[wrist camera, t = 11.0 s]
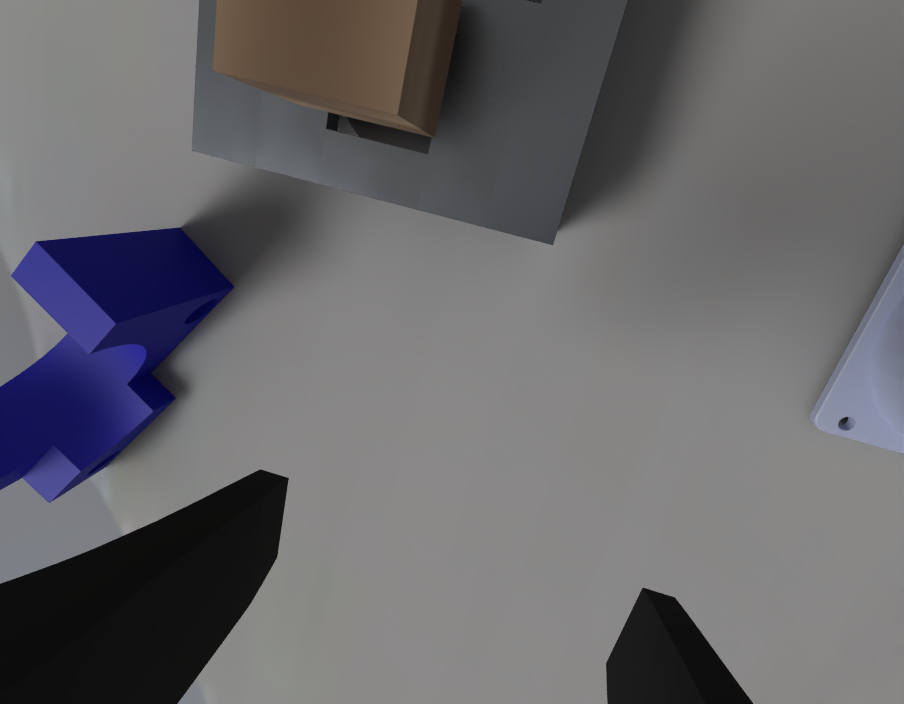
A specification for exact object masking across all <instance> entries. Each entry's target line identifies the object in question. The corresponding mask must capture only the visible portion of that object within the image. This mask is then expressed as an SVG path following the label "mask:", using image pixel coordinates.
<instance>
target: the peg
mask: <svg viewBox="0 0 904 704" xmlns="http://www.w3.org/2000/svg"><path fill="white" fill-rule="evenodd" d="M462 1H463V0H217V8H216V25H215V42H214V59H213V71H215V72H217V73H220V74H223V75H225V76H228V77H230V78H233V79H235V80H238V81H240V82H243V83H245V84H248V85H250V86H253V87H255V88H258V89H260V90H263V91H265V92H268V93H270V94H273V95H275V96H278V97H281V98H283V99H286V100H288V101H291V102H293V103H296V104H298V105H301V106H306V107H310V108H314V109H318V110H322V111H326V112H330V113H334V114H339V115H343V116H346V117H347V119H348V121H349V123H350V124H351V126H352V127H353V129H354V130H355V132H356V133H357V134H358V135H359V136H360V137H361V138H364V139H368V140H372V141H376V142H380V143H384V144H388V145H392V146H396V147H400V148H404V149H408V150H412V151H416V152H420V153H424V154H428V153H429V148H430V143H431V138H432V137H433V138H435V134H436V129H437V124H438V119H439V114H440V109H441V104H442V99H443V94H444V89H445V85H446V80H447V75H448V70H449V65H450V60H451V55H452V50H453V45H454V40H455V35H456V30H457V26H458V21H459V16H460V11H461V6H462Z"/></svg>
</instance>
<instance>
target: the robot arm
mask: <svg viewBox="0 0 904 704" xmlns="http://www.w3.org/2000/svg"><path fill="white" fill-rule="evenodd" d="M844 417H849V418H848V421H847V422H846V423H845V424H843V425H841V426H838V423H839V421H840V420H841V419H842V418H844ZM810 418H811V422H812V423H813V424H814V425H815V426H816V427H817V428H818V429H820V430H822V431H824V432H827V433H831V434H835V435H838V436H842V437H845V438H849V439H853V440H856V441H860V442H863V443H867V444H870V445H874V446H878V447H881V448H885V449H888V450H892V451H896V452H899V453H903V454H904V244H903V246H902V248H901V250H900V252H899V254H898V255H897V257H896V259H895V261H894V263H893V264H892V266H891V268H890V270H889V272H888V274H887V275H886V277H885V279H884V281H883V283H882V284H881V286H880V288H879V290H878V292H877V294H876V295H875V297H874V299H873V301H872V303H871V304H870V306H869V308H868V310H867V312H866V314H865V315H864V317H863V319H862V321H861V323H860V324H859V326H858V328H857V330H856V332H855V334H854V335H853V337H852V339H851V341H850V343H849V344H848V346H847V348H846V350H845V352H844V354H843V355H842V357H841V359H840V361H839V363H838V364H837V366H836V368H835V370H834V372H833V374H832V375H831V377H830V379H829V381H828V383H827V384H826V386H825V388H824V390H823V392H822V394H821V395H820V397H819V399H818V401H817V403H816V404H815V406H814V408H813V410H812V412H811V415H810ZM288 479H289V478H286V477H283V476H280V475H277V474H273V473H270V472H267V471H264V470H258V471H256V472H254V473H252V474H250V475H248V476H246V477H244V478H242V479H240V480H238V481H236V482H234V483H232V484H230V485H228V486H226V487H224V488H222V489H220V490H219V491H217V492H215V493H213V494H211V495H209V496H207V497H205V498H203V499H201V500H199V501H197V502H195V503H193V504H191V505H189V506H187V507H185V508H183V509H180V510H178V511H176V512H174V513H172V514H170V515H168V516H166V517H164V518H162V519H160V520H158V521H156V522H154V523H151V524H149V525H147V526H144V527H142V528H140V529H138V530H135V531H133V532H131V533H129V534H126V535H124V536H122V537H120V538H118V539H115V540H113V541H111V542H108V543H106V544H104V545H102V546H99V547H97V548H95V549H92V550H90V551H87V552H85V553H82V554H80V555H77V556H75V557H72V558H70V559H67V560H65V561H62V562H60V563H57V564H54V565H51V566H49V567H46V568H43V569H41V570H38V571H35V572H32V573H30V574H27V575H24V576H21V577H19V578H16V579H13V580H10V581H7V582H4V583H1V584H0V704H178V702H179V701H180V699H181V698H182V697H183V695H184V694H185V693H186V691H187V690H188V689H189V687H190V686H191V684H192V683H193V682H194V680H195V679H196V678H197V676H198V675H199V674H200V672H201V671H202V670H203V668H204V667H205V666H206V664H207V663H208V661H209V660H210V659H211V657H212V656H213V655H214V653H215V652H216V651H217V649H218V648H219V647H220V645H221V644H222V642H223V641H224V640H225V638H226V637H227V636H228V634H229V633H230V631H231V630H232V629H233V627H234V626H235V625H236V623H237V622H238V620H239V619H240V618H241V616H242V615H243V614H244V612H245V611H246V609H247V608H248V607H249V605H250V603H251V602H252V600H253V598H254V597H255V595H256V593H257V592H258V590H259V588H260V587H261V585H262V583H263V581H264V580H265V578H266V576H267V574H268V573H269V571H270V569H271V567H272V565H273V564H274V562H275V560H276V558H277V555H278V548H279V541H280V534H281V527H282V520H283V513H284V506H285V499H286V493H287V486H288ZM606 672H607V699H608V704H753V703H752V701H751V700H750V699H749V697H748V696H747V695H746V693H745V692H744V691H743V689H742V688H741V687H740V685H739V684H738V682H737V681H736V680H735V678H734V677H733V676H732V674H731V673H730V672H729V670H728V669H727V667H726V666H725V665H724V663H723V662H722V661H721V659H720V658H719V656H718V655H717V654H716V652H715V651H714V650H713V648H712V647H711V645H710V644H709V643H708V641H707V640H706V639H705V637H704V636H703V634H702V633H701V632H700V630H699V629H698V628H697V626H696V625H695V623H694V622H693V621H692V619H691V618H690V617H689V615H688V614H687V613H686V611H685V610H684V609H683V607H682V606H681V605H680V604H679V602H678V601H677V600H676V599H675V597H671V596H668V595H665V594H662V593H658V592H655V591H652V590H649V589H645V588H642V590H641V592H640V595H639V597H638V599H637V601H636V603H635V605H634V607H633V609H632V611H631V613H630V615H629V617H628V619H627V621H626V623H625V626H624V628H623V630H622V632H621V634H620V636H619V638H618V640H617V642H616V644H615V646H614V648H613V650H612V652H611V654H610V656H609V659H608V661H607V663H606Z"/></svg>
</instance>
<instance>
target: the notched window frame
mask: <svg viewBox="0 0 904 704" xmlns="http://www.w3.org/2000/svg"><path fill="white" fill-rule="evenodd" d="M627 1H628V0H542V2H541V4H540V3H536V2H531V1H527V0H463V1H462V6H461V11H460V16H459V21H458V26H457V30H456V35H455V40H454V45H453V50H452V55H451V60H450V65H449V70H448V75H447V80H446V85H445V89H444V94H443V99H442V104H441V109H440V114H439V119H438V124H437V129H436V134H435V138H433V137H432V138H431V143H430V148H429V153H428V154H424V153H420V152H416V151H412V150H408V149H404V148H400V147H396V146H392V145H388V144H384V143H380V142H376V141H372V140H368V139H364V138H360V137H356V136H352V135H348V134H344V133H340V132H337V127H338V120H339V114H334V113H330V112H326V111H322V110H318V109H314V108H310V107H306V106H301V105H298V104H296V103H293V102H291V101H288V100H286V99H283V98H281V97H278V96H275V95H273V94H270V93H268V92H265V91H263V90H260V89H258V88H255V87H253V86H250V85H248V84H245V83H243V82H240V81H238V80H235V79H233V78H230V77H228V76H225V75H223V74H220V73H217V72H215V71H213V59H214V42H215V25H216V8H217V0H199V18H198V37H197V57H196V77H195V96H194V116H193V136H192V151H195V152H199V153H203V154H206V155H210V156H214V157H218V158H222V159H226V160H229V161H233V162H237V163H241V164H245V165H248V166H252V167H256V168H260V169H264V170H268V171H271V172H275V173H279V174H283V175H287V176H291V177H294V178H298V179H302V180H306V181H310V182H313V183H317V184H321V185H325V186H329V187H333V188H336V189H340V190H344V191H348V192H352V193H356V194H359V195H363V196H367V197H371V198H375V199H378V200H382V201H386V202H390V203H394V204H398V205H401V206H405V207H409V208H413V209H417V210H421V211H424V212H428V213H432V214H436V215H440V216H443V217H447V218H451V219H455V220H459V221H463V222H466V223H470V224H474V225H478V226H482V227H486V228H489V229H493V230H497V231H501V232H505V233H508V234H512V235H516V236H520V237H524V238H528V239H531V240H535V241H539V242H543V243H547V244H550V245H553V243H554V240H555V237H556V233H557V230H558V227H559V223H560V220H561V217H562V214H563V210H564V207H565V204H566V201H567V197H568V194H569V191H570V187H571V184H572V181H573V178H574V174H575V171H576V168H577V165H578V161H579V158H580V155H581V152H582V148H583V145H584V142H585V138H586V135H587V132H588V129H589V125H590V122H591V119H592V116H593V112H594V109H595V106H596V102H597V99H598V96H599V93H600V89H601V86H602V83H603V80H604V76H605V73H606V70H607V67H608V63H609V60H610V57H611V53H612V50H613V47H614V44H615V40H616V37H617V34H618V31H619V27H620V24H621V21H622V17H623V14H624V11H625V8H626V4H627Z"/></svg>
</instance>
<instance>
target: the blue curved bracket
mask: <svg viewBox="0 0 904 704" xmlns="http://www.w3.org/2000/svg"><path fill="white" fill-rule="evenodd" d="M11 276H12V277H13V278H14V279H15V280H16V281H17V282H18V283H19V285H20V286H21V287H22V288H23V289H24V290H25V291H26V292H27V293H28V294H29V295H30V296H31V297H32V298H33V299H34V300H35V301H36V302H37V303H38V304H39V305H40V306H41V307H42V308H43V309H44V310H45V311H46V312H47V313H48V314H49V315H50V316H51V317H52V318H53V319H54V320H55V321H56V322H57V323H58V324H59V325H60V326H61V327H62V328H63V329H64V330H65V331H66V332H67V333H68V334H67V335H66V336H65V337H64V338H63V339H62V340H61V341H60V342H59V343H58V344H57V345H56V346H55V347H54V348H52V349H51V350H50V351H49V352H48V353H47V354H45V355H44V356H43V357H42V358H41V359H39V360H38V361H37V362H36V363H34V364H33V365H32V366H30V367H29V368H27V369H26V370H25V371H23V372H22V373H20V374H19V375H17V376H16V377H14V378H13V379H12V380H10V381H8V382H7V383H5V384H4V385H2V386H1V387H0V490H1V489H3V488H5V487H6V486H8V485H10V484H12V483H14V482H15V481H17V480H19V479H21V478H23V479H24V480H25V481H26V482H27V483H28V484H30V486H32V487H33V488H34V489H35V490H36V491H37V492H38V493H39V494H40V495H41V496H42V497H43V498H44V499H45V500H46V501H47V502H49V503H50V502H52V501H53V500H55V499H56V498H58V497H59V496H61V495H62V494H64V493H66V492H67V491H69V490H70V489H72V488H74V487H75V486H77V485H78V484H80V483H81V482H83V481H84V480H86V479H88V478H89V477H91V476H92V475H94V474H95V473H97V472H99V471H100V470H102V469H103V468H105V467H106V466H107V465H108V464H109V463H110V462H111V461H112V460H113V459H114V458H115V457H116V456H117V455H118V454H119V453H120V452H121V451H122V450H123V449H124V448H125V447H126V446H127V445H128V444H129V443H130V442H131V441H132V440H133V439H134V438H135V437H136V436H137V435H138V434H140V433H141V432H142V431H143V430H144V429H145V428H146V427H147V426H148V425H149V424H150V423H151V422H152V421H153V420H154V419H155V418H156V417H157V416H158V415H159V414H160V413H161V412H162V411H163V410H164V409H165V408H166V407H167V406H168V405H169V404H170V403H171V402H172V401H173V400H174V399H175V397H174V396H173V395H172V394H171V393H170V392H169V391H168V390H167V389H166V388H165V387H164V386H163V385H162V384H161V383H160V382H159V381H158V380H157V379H156V378H155V377H154V376H153V375H152V374H151V372H152V371H153V370H154V369H155V368H156V367H157V366H158V365H159V364H160V363H161V362H162V361H163V360H164V359H165V358H166V357H167V356H168V355H169V354H170V353H171V352H172V351H173V350H174V348H175V347H176V346H177V345H178V344H179V343H180V342H181V341H182V340H183V339H184V338H185V337H186V336H187V335H188V334H189V333H190V332H191V331H192V330H193V329H194V328H195V327H196V326H197V325H198V324H199V323H200V322H201V321H202V320H203V319H204V318H205V316H206V315H207V314H208V313H209V312H210V311H211V310H212V309H213V308H214V307H215V306H216V305H217V304H218V303H219V302H220V301H221V300H222V299H223V298H224V297H225V296H226V295H227V294H228V293H229V292H230V291H231V290H232V289H233V288H234V286H233V285H232V284H231V283H230V282H229V281H228V280H227V279H226V277H225V276H224V275H223V274H222V273H221V272H220V271H219V270H218V269H217V268H216V267H215V265H214V264H213V263H212V262H211V261H210V260H209V259H208V258H207V257H206V256H205V255H204V253H203V252H202V251H201V250H200V249H199V248H198V247H197V246H196V245H195V244H194V243H193V241H192V240H191V239H190V238H189V237H188V236H187V235H186V234H185V233H184V232H183V231H182V229H181V228H171V229H160V230H150V231H140V232H129V233H119V234H109V235H98V236H88V237H78V238H67V239H57V240H47V241H36V242H35V244H34V245H33V246H32V248H31V249H30V250H29V252H28V253H27V254H26V256H25V257H24V259H23V260H22V261H21V263H20V264H19V265H18V267H17V268H16V270H15V271H14V272H13V274H12V275H11Z"/></svg>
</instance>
